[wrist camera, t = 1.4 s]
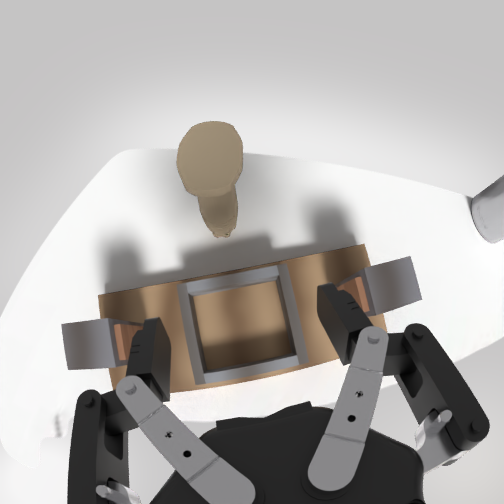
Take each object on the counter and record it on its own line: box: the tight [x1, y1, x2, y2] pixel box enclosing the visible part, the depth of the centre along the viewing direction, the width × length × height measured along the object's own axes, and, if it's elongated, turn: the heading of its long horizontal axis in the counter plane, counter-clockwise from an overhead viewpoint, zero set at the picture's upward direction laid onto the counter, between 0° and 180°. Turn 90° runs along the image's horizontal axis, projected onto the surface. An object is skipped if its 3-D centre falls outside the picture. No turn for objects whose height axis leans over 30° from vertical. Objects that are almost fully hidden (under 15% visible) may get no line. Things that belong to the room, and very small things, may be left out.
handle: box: [177, 121, 243, 238], centre depth 27 cm, size 5×6×15 cm
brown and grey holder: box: [61, 244, 422, 393], centre depth 26 cm, size 32×12×11 cm, turn 102°
